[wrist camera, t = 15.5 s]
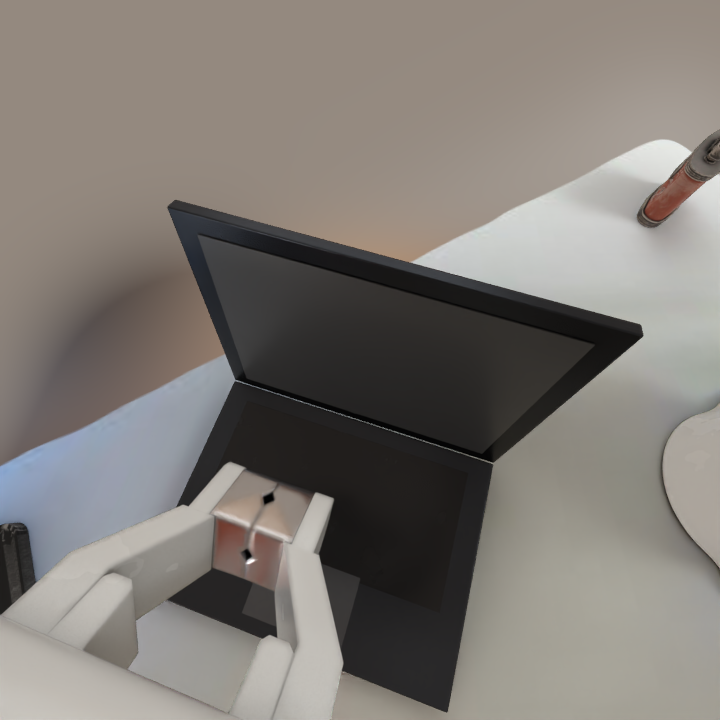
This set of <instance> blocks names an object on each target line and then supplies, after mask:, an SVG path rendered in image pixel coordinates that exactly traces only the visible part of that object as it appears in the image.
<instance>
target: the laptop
mask: <svg viewBox="0 0 720 720" xmlns="http://www.w3.org/2000/svg"><path fill="white" fill-rule="evenodd" d="M229 462H232V463H235V464H238V465H240V466H243V467H246V468H249V469H252V470H254V471H257V472H259V473H262V474H265V475H267V476H270V477H273V478H275V479H278V480H280V481H281V480H282V481H285V482H288V483H291V484H294V485H297V486H300V487H303V488H306V489H309V490H312V491H315V492H317V493H320V494H323V495H326V496H329V497H332V498H334V503H333V507H332V510H331V514H330V518H329V521H328V525H327V529H326V532H325V535H324V538H323V542H322V545H321V548H320V551H319V554H318V555H319V557H320V561H321V566H322V570H323V575H324V579H325V584H326V588H327V592H328V597H329V601H330V606H331V610H332V614H333V619H334V623H335V628H336V632H337V636H338V641H339V645H340V650H341V654H342V659H343V667H342V671H344V672H347V673H349V674H352V675H354V676H357V677H359V678H362V679H364V680H367V681H369V682H372V683H374V684H377V685H379V686H382V687H384V688H387V689H389V690H392V691H394V692H396V693H399V694H401V695H404V696H406V697H409V698H411V699H414V700H416V701H419V702H421V703H424V704H426V705H429V706H431V707H434V708H436V709H439V710H441V711H444V712H446V713H447V712H448V707H449V702H450V697H451V691H452V686H453V680H454V675H455V669H456V664H457V658H458V653H459V648H460V642H461V637H462V631H463V626H464V620H465V615H466V609H467V604H468V599H469V593H470V588H471V582H472V577H473V571H474V566H475V560H476V555H477V550H478V544H479V539H480V533H481V528H482V522H483V517H484V512H485V506H486V501H487V495H488V490H489V484H490V479H491V473H492V468H493V464H491V463H488V462H484V461H481V460H478V459H475V458H472V457H469V456H466V455H463V454H460V453H457V452H453V451H450V450H447V449H444V448H441V447H438V446H435V445H432V444H429V443H425V442H422V441H419V440H416V439H413V438H410V437H407V436H404V435H401V434H398V433H394V432H391V431H388V430H385V429H382V428H379V427H376V426H373V425H370V424H367V423H363V422H360V421H357V420H354V419H351V418H348V417H345V416H342V415H339V414H336V413H332V412H329V411H326V410H323V409H320V408H317V407H314V406H311V405H308V404H304V403H301V402H298V401H295V400H292V399H289V398H286V397H283V396H280V395H277V394H273V393H270V392H267V391H264V390H261V389H258V388H255V387H252V386H249V385H246V384H242V383H239V382H236V381H235V382H234V384H233V386H232V389H231V391H230V393H229V395H228V397H227V399H226V401H225V404H224V406H223V408H222V410H221V412H220V414H219V416H218V419H217V421H216V423H215V425H214V427H213V429H212V432H211V434H210V436H209V438H208V440H207V442H206V444H205V447H204V449H203V451H202V453H201V455H200V457H199V459H198V462H197V464H196V466H195V468H194V470H193V472H192V474H191V477H190V479H189V481H188V483H187V485H186V487H185V490H184V492H183V494H182V496H181V498H180V500H179V502H178V505H177V507H179V506H181V505H186V506H189V505H190V504H191V503H192V502H193V501H194V499H195V498H196V497H197V496H198V495H199V494H200V493H201V491H202V490H203V489H204V488H205V487H206V486H207V484H208V483H209V482H210V481H211V480H212V479H213V478H214V476H215V475H216V474H217V473H218V472H219V471H220V469H221V468H222V467H223V466H224V465H225V464H227V463H229ZM167 600H168V601H170V602H173V603H175V604H178V605H180V606H183V607H185V608H188V609H190V610H193V611H195V612H198V613H200V614H203V615H205V616H208V617H210V618H213V619H215V620H218V621H220V622H223V623H225V624H227V625H230V626H232V627H235V628H237V629H240V630H242V631H245V632H247V633H250V634H252V635H255V636H257V637H260V638H262V639H263V638H265V637H267V636H269V635H271V636H273V637H276V638H277V623H276V609H275V592H274V591H272V590H269V589H267V588H265V587H262V586H260V585H258V584H255V583H253V582H251V581H248V580H246V579H243V578H241V577H238V576H235V575H232V574H229V573H226V572H223V571H221V570H218V569H215V568H212V567H211V570H210V571H208V572H207V573H205V574H204V575H202V576H201V577H199V578H198V579H196V580H195V581H194V582H192V583H191V584H189V585H188V586H186V587H185V588H183V589H182V590H180V591H179V592H177V593H176V594H174V595H173V596H171V597H170V598H169V599H167Z"/></svg>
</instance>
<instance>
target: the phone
mask: <svg viewBox="0 0 720 720" xmlns="http://www.w3.org/2000/svg"><path fill="white" fill-rule="evenodd" d="M34 584H35V577H34V570H33V563H32V557H31V550H30V543H29V536H28V530H27V527H26V526H25V525H24V524H22V523H9V524H3V525H0V615H1V614H2V613H4V612H5V611H6V610H7V609H8V608H9V607H10V606H11V605H12V604H13V603H15V602H16V601H17V600H18V599H19V598H20V597H21V596H22V595H23V594H24V593H26V592H27V591H28V590H29V589H30V588H31V587H32V586H33V585H34Z"/></svg>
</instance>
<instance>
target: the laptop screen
mask: <svg viewBox="0 0 720 720" xmlns="http://www.w3.org/2000/svg"><path fill="white" fill-rule="evenodd" d="M168 210H169V213H170V215H171V218H172V220H173V223H174V226H175V228H176V231H177V233H178V236H179V238H180V241H181V243H182V246H183V248H184V251H185V253H186V256H187V258H188V261H189V263H190V266H191V268H192V271H193V274H194V276H195V278H196V281H197V284H198V286H199V289H200V291H201V294H202V296H203V299H204V301H205V304H206V306H207V309H208V311H209V314H210V317H211V319H212V322H213V324H214V326H215V329H216V332H217V334H218V337H219V339H220V342H221V344H222V347H223V349H224V352H225V354H226V357H227V359H228V362H229V365H230V367H231V370H232V372H233V375H234V377H235V379H236V380H238V381H241V382H244V383H247V384H250V385H254V386H257V387H260V388H263V389H266V390H269V391H272V392H275V393H278V394H282V395H285V396H288V397H291V398H294V399H297V400H300V401H303V402H306V403H310V404H313V405H316V406H319V407H322V408H325V409H328V410H331V411H334V412H337V413H341V414H344V415H347V416H350V417H353V418H356V419H359V420H362V421H365V422H369V423H372V424H375V425H378V426H381V427H384V428H387V429H390V430H393V431H397V432H400V433H403V434H406V435H409V436H412V437H415V438H418V439H421V440H424V441H428V442H431V443H434V444H437V445H440V446H443V447H446V448H449V449H452V450H456V451H459V452H462V453H465V454H468V455H471V456H474V457H477V458H480V459H484V460H487V461H490V462H493V463H494V462H495V461H496V460H497V459H499V458H500V457H501V456H502V455H503V454H504V453H506V452H507V451H508V450H509V449H510V448H512V447H513V446H514V445H515V444H516V443H517V442H519V441H520V440H521V439H522V438H523V437H525V436H526V435H527V434H528V433H529V432H531V431H532V430H533V429H534V428H535V427H536V426H538V425H539V424H540V423H541V422H542V421H544V420H545V419H546V418H547V417H548V416H550V415H551V414H552V413H553V412H554V411H555V410H557V409H558V408H559V407H560V406H561V405H563V404H564V403H565V402H566V401H567V400H568V399H570V398H571V397H572V396H573V395H574V394H576V393H577V392H578V391H579V390H580V389H582V388H583V387H584V386H585V385H586V384H587V383H589V382H590V381H591V380H592V379H593V378H595V377H596V376H597V375H598V374H599V373H601V372H602V371H603V370H604V369H605V368H606V367H608V366H609V365H610V364H611V363H612V362H614V361H615V360H616V359H617V358H618V357H619V356H621V355H622V354H623V353H624V352H625V351H627V350H628V349H629V348H630V347H631V346H633V345H634V344H635V343H636V342H637V341H638V340H640V339H641V338H642V337H643V331H642V327H641V325H640V324H636V323H633V322H629V321H625V320H621V319H618V318H614V317H610V316H607V315H603V314H599V313H595V312H592V311H588V310H584V309H580V308H577V307H573V306H569V305H566V304H562V303H558V302H554V301H551V300H547V299H543V298H540V297H536V296H532V295H528V294H525V293H521V292H517V291H513V290H510V289H506V288H502V287H499V286H495V285H491V284H487V283H484V282H480V281H476V280H473V279H469V278H465V277H461V276H458V275H454V274H450V273H446V272H443V271H439V270H435V269H432V268H428V267H424V266H420V265H417V264H413V263H409V262H405V261H402V260H398V259H394V258H390V257H387V256H383V255H379V254H375V253H372V252H368V251H364V250H361V249H357V248H353V247H349V246H346V245H342V244H338V243H334V242H331V241H327V240H324V239H320V238H316V237H312V236H309V235H305V234H301V233H297V232H294V231H290V230H286V229H283V228H279V227H275V226H271V225H268V224H264V223H260V222H256V221H253V220H249V219H245V218H241V217H238V216H234V215H230V214H227V213H223V212H219V211H215V210H212V209H208V208H204V207H201V206H197V205H193V204H190V203H186V202H182V201H178V200H174V201H173V202H172V203H171V204H170V205H169V206H168Z"/></svg>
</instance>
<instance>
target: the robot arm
mask: <svg viewBox="0 0 720 720" xmlns="http://www.w3.org/2000/svg"><path fill="white" fill-rule="evenodd" d="M662 468H663V479H664V485H665V489H666V492H667V496H668V498H669V501H670V504H671V506H672V508H673V510H674V512H675V514H676V516H677V518H678V519H679V521H680V523H681V524H682V526H683V527H684V528H685V530H686V531H687V533H688V534H689V535H690V536H691V538H692V539H693V540H694V541H695V542H696V543H697V544H698V545H699V546H700V547H701V548H702V549H703V550H704V551H705V552H706V553H707V554H708V555H709V556H710V557H711V558H712V559H713V561H714V562H715V563H716V564H717V565H718V567H719V568H720V403H719V404H718V405H717V406H716V407H715V408H714V409H712V410H710V411H707V412H704V413H700V414H697V415H694V416H692V417H690V418H688V419H686V420H685V421H683V422H682V423H681V424H680V425H679V426H678V427H677V428H676V429H675V430H674V431H673V432H672V434H671V435H670V437H669V439H668V441H667V444H666V447H665V450H664V454H663V464H662ZM333 503H334V498H332V497H329V496H326V495H323V494H320V493H317V492H315V491H312V490H309V489H306V488H303V487H300V486H297V485H294V484H291V483H288V482H285V481H282V480H281V481H280V480H278V479H275V478H273V477H270V476H267V475H265V474H262V473H259V472H257V471H254V470H252V469H249V468H246V467H243V466H240V465H238V464H235V463H232V462H229V463H227V464H225V465H224V466H223V467H222V468H221V469H220V471H219V472H218V473H217V474H216V475H215V476H214V478H213V479H212V480H211V481H210V482H209V483H208V484H207V486H206V487H205V488H204V489H203V490H202V491H201V493H200V494H199V495H198V496H197V497H196V498H195V499H194V501H193V502H192V503H191V504H190V505H189V506H186V505H181V506H179V507H176V508H174V509H171V510H169V511H167V512H164V513H162V514H160V515H157V516H155V517H152V518H150V519H148V520H145V521H143V522H141V523H138V524H136V525H133V526H131V527H129V528H126V529H124V530H121V531H119V532H117V533H114V534H112V535H110V536H107V537H105V538H102V539H100V540H98V541H95V542H93V543H90V544H88V545H86V546H83V547H81V548H79V549H76V550H74V551H71V552H70V553H68V554H67V555H66V556H65V557H64V558H63V559H62V560H61V561H60V562H59V563H57V564H56V565H55V566H54V567H53V568H52V569H51V570H50V571H49V572H48V573H46V574H45V575H44V576H43V577H42V578H41V579H40V580H39V581H38V582H37V583H35V584H34V585H33V586H32V587H31V588H30V589H29V590H28V591H27V592H26V593H24V594H23V595H22V596H21V597H20V598H19V599H18V600H17V601H16V602H15V603H13V604H12V605H11V606H10V607H9V608H8V609H7V610H6V611H5V612H4V613H2V614H1V615H0V720H331V717H332V712H333V708H334V703H335V699H336V694H337V690H338V685H339V681H340V676H341V672H342V667H343V659H342V654H341V650H340V645H339V641H338V636H337V632H336V628H335V623H334V619H333V614H332V610H331V606H330V601H329V597H328V592H327V588H326V584H325V579H324V575H323V570H322V566H321V561H320V557H319V555H318V554H319V551H320V548H321V545H322V542H323V538H324V535H325V532H326V529H327V525H328V521H329V518H330V514H331V510H332V507H333ZM211 567H212V568H215V569H218V570H221V571H223V572H226V573H229V574H232V575H235V576H238V577H241V578H243V579H246V580H248V581H251V582H253V583H255V584H258V585H260V586H262V587H265V588H267V589H269V590H272V591H274V592H275V609H276V623H277V638H276V637H273V636H271V635H269V636H267V637H265V638H263V639H261V640H260V643H259V645H258V647H257V649H256V652H255V654H254V656H253V658H252V661H251V663H250V665H249V667H248V670H247V672H246V674H245V676H244V679H243V681H242V683H241V685H240V688H239V690H238V692H237V695H236V697H235V699H234V701H233V704H232V706H231V708H230V710H229V713H226V712H224V711H222V710H219V709H217V708H215V707H212V706H210V705H208V704H206V703H203V702H201V701H199V700H196V699H194V698H192V697H189V696H187V695H185V694H182V693H180V692H178V691H176V690H173V689H171V688H169V687H166V686H164V685H162V684H159V683H157V682H155V681H152V680H150V679H148V678H145V677H143V676H141V675H139V674H136V673H134V672H132V671H129V670H127V669H128V667H129V666H130V665H131V663H132V662H133V660H134V659H135V657H136V656H137V654H138V640H137V629H136V620H138V619H139V618H141V617H142V616H144V615H145V614H147V613H148V612H149V611H151V610H152V609H154V608H155V607H157V606H158V605H160V604H161V603H163V602H164V601H166V600H167V599H169V598H170V597H171V596H173V595H174V594H176V593H177V592H179V591H180V590H182V589H183V588H185V587H186V586H188V585H189V584H191V583H192V582H194V581H195V580H196V579H198V578H199V577H201V576H202V575H204V574H205V573H207V572H208V571H210V570H211Z"/></svg>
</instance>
